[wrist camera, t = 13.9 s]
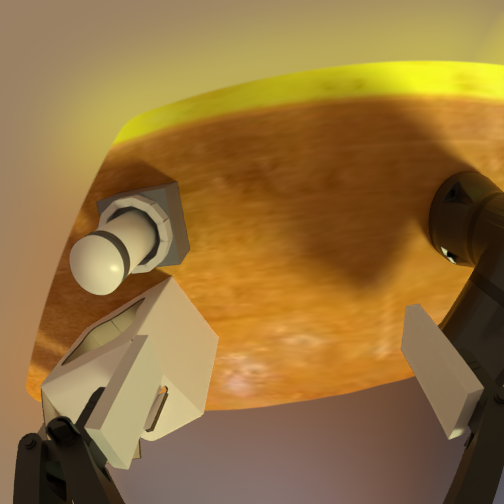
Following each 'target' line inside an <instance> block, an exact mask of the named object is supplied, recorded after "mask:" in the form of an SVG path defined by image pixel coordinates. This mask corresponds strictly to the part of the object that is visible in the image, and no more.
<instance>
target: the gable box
mask: <svg viewBox="0 0 504 504" xmlns="http://www.w3.org/2000/svg"><path fill="white" fill-rule="evenodd" d="M136 335H149V337H150V339H151V342H152V345H153V348H154V351H155V354H156V356H157V359H158V362H159V365H160V367H161V370H162V373H163V377H162V380H161V382H160V385H159V388H158V390H157V393H156V395H155V398H154V401H153V403H152V406H151V409H150V411H149V414H148V417H147V419H146V422H145V425H144V427H143V430H142V433H141V436H140V438H142V439H144V440H147V441H154V440H156V439H159V438H161V437H162V436H164V435H166V434H168V433H170V432H172V431H174V430H176V429H178V428H180V427H181V426H183V425H185V424H187V423H189V422H191V421H192V420H194V419H196V418H198V417H201V416H203V413H204V408H205V403H206V398H207V393H208V388H209V384H210V379H211V374H212V369H213V364H214V359H215V355H216V350H217V345H218V340H219V337H218V336H217V335H216V333H215V332H214V331H213V330H212V328H211V327H210V326H209V325H208V323H207V322H206V321H205V319H204V318H203V317H202V315H201V314H200V313H199V312H198V310H197V309H196V308H195V306H194V305H193V304H192V302H191V301H190V300H189V298H188V297H187V296H186V294H185V293H184V292H183V290H182V289H181V287H180V286H179V285H178V283H177V282H176V281H175V279H174V278H173V277H172V276H170V277H168V278H167V279H165V280H163V281H162V282H160V283H158V284H157V285H155V286H154V287H152V288H150V289H149V290H147V291H145V292H144V293H142V294H140V295H139V296H137V297H135V298H134V299H132V300H131V301H129V302H127V303H126V304H124V305H122V306H121V307H119V308H118V309H116V310H114V311H113V312H111V313H109V314H108V315H106V316H105V317H103V318H101V319H100V320H98V321H97V322H95V323H93V324H92V325H90V326H88V327H87V328H86V329H85V330H84V331H83V332H82V334H81V335H80V336H79V337H78V339H77V340H76V341H75V342H74V343H73V345H72V346H71V347H70V348H69V350H68V351H67V352H66V353H65V355H64V356H63V357H62V359H61V360H60V361H59V362H58V364H57V365H56V366H55V367H54V369H53V370H52V371H51V373H50V374H49V375H48V377H47V378H46V379H45V381H44V382H43V383H42V385H41V397H42V407H43V416H44V423H45V431H46V426H47V424H48V423H49V422H50V421H51V420H52V419H54V418H56V417H59V416H66V417H68V418H70V419H71V421H72V422H73V424H74V425H75V423H76V421H77V420H78V418H79V416H80V414H81V412H82V411H83V409H85V405H86V404H87V403H88V400H89V398H90V397H91V395H92V393H93V392H95V391H96V390H97V389H98V388H99V387H106V386H107V384H108V383H109V381H110V379H111V377H112V375H113V374H114V372H115V370H116V368H117V367H118V365H119V363H120V361H121V360H122V358H123V356H124V355H125V353H126V351H127V349H128V348H129V346H130V344H131V343H132V341H133V339H134V338H135V336H136ZM163 386H165V387H166V389H167V391H166V392H164V393H161V394H159V393H160V391H161V389H162V388H163ZM158 394H159V395H158ZM46 437H47V440H51V439H50V437H49V436H48V435H47V433H46ZM140 438H139V441H138V444H137V447H136V449H135V452H134V455H133V458H132V460H133V459H139V458H141V449H140ZM106 463H109V461H108V460H107V462H106Z"/></svg>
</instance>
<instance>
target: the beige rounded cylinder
mask: <svg viewBox="0 0 504 504" xmlns="http://www.w3.org/2000/svg"><path fill="white" fill-rule="evenodd" d="M158 236H159V232H158V227H157V224H156V223H155V222H154V220H153V219H152V218H151V217H150V216H149V214H148V213H146V212H144V211H142V210H130V211H127V212H125V213H124V214H122V215H120V216H118V217H117V218H115V219H113V220H112V221H110V222H108V223H107V224H105V225H103V226H102V227H100V228H98V229H97V230H95V231H93V232H91V233H90V234H88V235H86V236H85V237H83V238H82V239H80V240H79V241H77V242H76V243H75V244H74V246H73V247H72V249H71V252H70V258H69V262H70V268H71V271H72V274H73V276H74V278H75V280H76V281H77V282H78V284H79V285H80V286H81V287H82V288H84V289H85V290H86V291H88V292H90V293H92V294H96V295H106V294H109V293H111V292H113V291H114V290H115V289H116V288H117V287H118V286H119V285H120V284H121V283H122V282H123V280H124V279H125V278H126V277H127V276H128V275H129V274H130V273H131V271H132V270H133V269H134V268H135V267H136V266H137V265H138V264H139V263H140V262H141V261H142V260H143V259H144V258H145V257H146V255H147V254H148V253H149V252H150V251H151V250H152V249H153V248H154V247H155V245H156V244H157V241H158Z"/></svg>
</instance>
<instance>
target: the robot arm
mask: <svg viewBox="0 0 504 504" xmlns="http://www.w3.org/2000/svg"><path fill="white" fill-rule="evenodd" d="M429 231H430V236H431V239H432V242H433V244H434V246H435V248H436V250H437V251H438V252H439V253H440V254H441V255H442V256H443V257H444V258H446V259H447V260H448V261H450V262H452V263H454V264H456V265H460V266H467V267H474V270H473V272H472V274H471V276H470V278H469V279H468V281H467V282H466V284H465V286H464V287H463V289H462V291H461V292H460V294H459V296H458V297H457V299H456V301H455V302H454V304H453V305H452V307H451V309H450V310H449V312H448V313H447V315H446V316H445V318H444V319H443V321H442V322H441V323H440V324H439V325H438V326H437V325H436V324H435V323H434V321H433V320H432V319H431V318H430V316H429V315H428V314H427V313H426V312H425V310H424V309H423V308H422V307H421V306H420V304H415V305H410V306H406V311H405V320H404V329H403V337H402V344H401V351H402V352H403V354H404V356H405V358H406V360H407V361H408V363H409V365H410V367H411V368H412V370H413V372H414V374H415V376H416V377H417V379H418V381H419V383H420V385H421V387H422V388H423V390H424V392H425V394H426V396H427V398H428V400H429V402H430V404H431V406H432V407H433V409H434V411H435V413H436V415H437V417H438V419H439V421H440V423H441V425H442V427H443V429H444V431H445V433H446V435H447V437H448V439H451V438H454V437H457V436H459V435H462V434H463V433H464V432H465V430H466V428H467V426H469V427H470V429H471V433H470V435H469V437H468V439H467V441H466V443H465V445H464V446H466V447H465V450H464V453H463V455H462V459H461V461H460V464H459V466H458V469H457V472H456V474H455V476H454V479H453V482H452V484H451V486H450V488H449V491H448V493H447V495H446V498H445V500H444V502H443V504H492V503H493V500H494V497H495V494H496V490H497V487H498V484H499V481H500V477H501V474H502V470H503V466H504V192H503V191H502V190H501V189H500V188H499V187H498V186H496V185H495V184H494V183H493V182H492V181H491V180H490V179H489V178H487V177H485V176H483V175H481V174H477V173H473V172H460V173H457V174H455V175H453V176H451V177H450V178H448V179H447V180H446V181H445V182H444V183H443V184H442V185H441V187H440V188H439V190H438V191H437V193H436V195H435V197H434V199H433V202H432V205H431V209H430V215H429ZM162 377H163V373H162V370H161V367H160V365H159V362H158V359H157V356H156V354H155V351H154V348H153V345H152V342H151V339H150V337H149V335H136V336H135V338H134V339H133V341H132V343H131V344H130V346H129V348H128V349H127V351H126V353H125V355H124V356H123V358H122V360H121V361H120V363H119V365H118V367H117V368H116V370H115V372H114V374H113V375H112V377H111V379H110V381H109V383H108V384H107V386H106V387H99V388H98V389H97V390H96V391H95V392H93V393H92V395H91V397H90V398H89V400H88V403H87V404H86V405H85V409H83V411H82V412H81V414H80V416H79V418H78V420H77V421H76V423H75V425H74V424H73V422H72V421H71V419H70V418H68V417H66V416H59V417H56V418H54V419H52V420H51V421H50V422H49V423H48V424H47V426H46V433H47V435H48V436H49V437H50V439H51V440H42V438H41V437H40V436H39V434H36V433H29V434H26V435H25V436H24V437H22V439H21V440H20V442H19V445H18V452H17V459H16V469H15V480H14V495H13V504H73V503H72V500H73V502H74V504H125V503H124V501H123V499H122V497H121V495H120V493H119V491H118V489H117V488H116V486H115V484H114V482H113V480H112V478H111V476H110V474H109V472H108V470H107V468H106V467H105V464H106V462H107V460H108V461H109V463H110V464H111V465H112V466H113V467H115V468H122V469H127V470H128V469H129V466H130V463H131V460H132V458H133V455H134V452H135V449H136V447H137V444H138V441H139V438H140V436H141V433H142V430H143V427H144V425H145V422H146V419H147V417H148V414H149V411H150V409H151V406H152V403H153V401H154V398H155V395H156V393H157V390H158V388H159V385H160V382H161V380H162Z"/></svg>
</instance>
